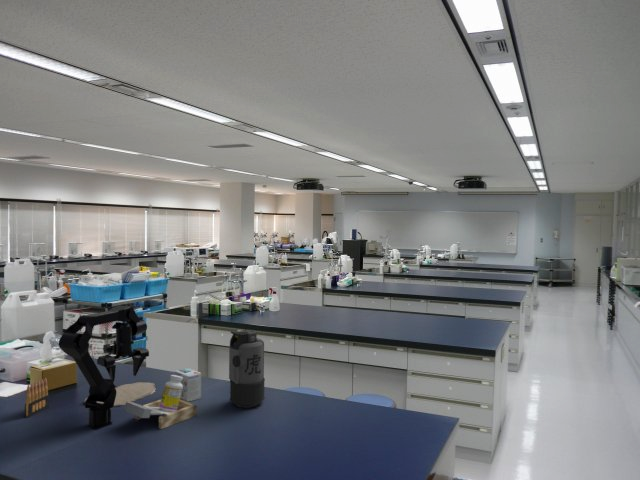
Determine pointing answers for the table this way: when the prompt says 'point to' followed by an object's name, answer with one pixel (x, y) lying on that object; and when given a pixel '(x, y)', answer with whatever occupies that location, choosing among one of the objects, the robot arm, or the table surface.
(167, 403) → the supplement bottle
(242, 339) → the kanji thermos flask
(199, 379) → the light bulb box
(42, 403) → the ammunition clip
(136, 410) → the trapdoor
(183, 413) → the tan framed slab
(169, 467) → the table surface
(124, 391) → the stone tablet
